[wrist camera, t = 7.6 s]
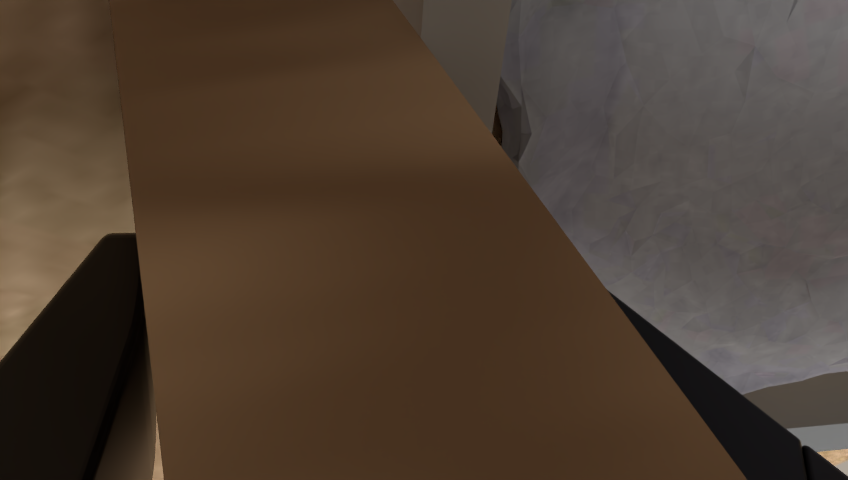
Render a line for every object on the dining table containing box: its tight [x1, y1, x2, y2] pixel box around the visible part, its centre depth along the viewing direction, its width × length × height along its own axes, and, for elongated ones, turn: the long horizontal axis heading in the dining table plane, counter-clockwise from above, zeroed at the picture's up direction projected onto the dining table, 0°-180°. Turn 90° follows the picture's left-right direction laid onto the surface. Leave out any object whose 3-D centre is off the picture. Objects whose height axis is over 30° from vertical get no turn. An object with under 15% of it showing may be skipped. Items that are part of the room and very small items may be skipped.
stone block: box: [496, 0, 848, 394], centre depth 12 cm, size 12×5×10 cm
